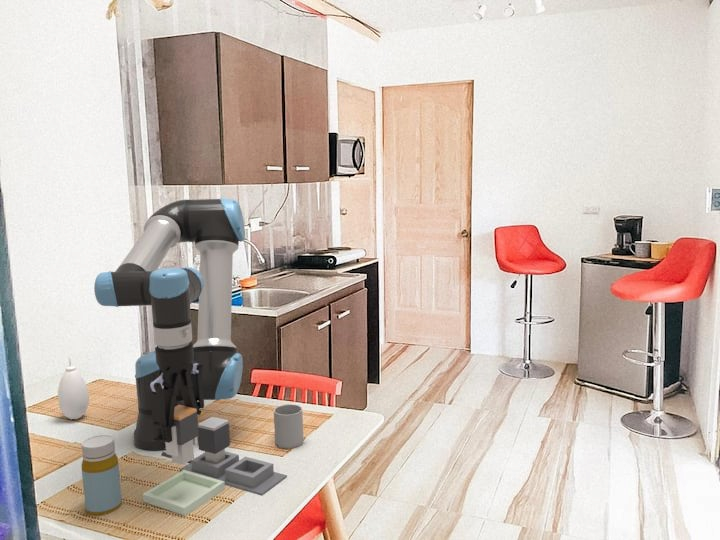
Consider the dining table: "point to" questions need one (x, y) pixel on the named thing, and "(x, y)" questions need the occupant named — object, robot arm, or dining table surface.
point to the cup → (288, 426)
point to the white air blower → (73, 393)
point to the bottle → (100, 475)
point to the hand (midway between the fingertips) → (182, 448)
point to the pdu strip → (229, 461)
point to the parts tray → (183, 492)
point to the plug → (185, 432)
